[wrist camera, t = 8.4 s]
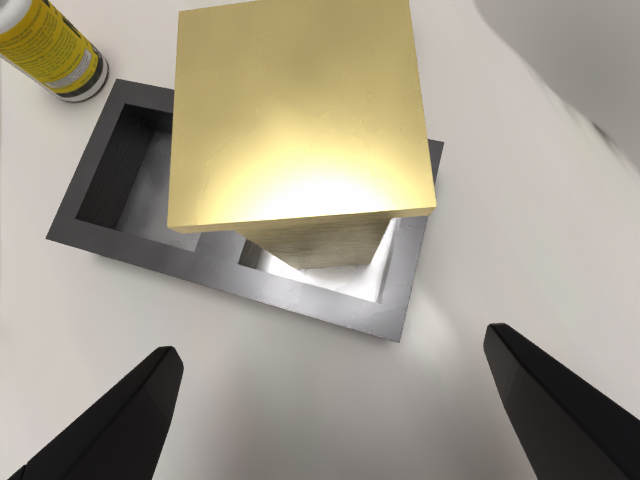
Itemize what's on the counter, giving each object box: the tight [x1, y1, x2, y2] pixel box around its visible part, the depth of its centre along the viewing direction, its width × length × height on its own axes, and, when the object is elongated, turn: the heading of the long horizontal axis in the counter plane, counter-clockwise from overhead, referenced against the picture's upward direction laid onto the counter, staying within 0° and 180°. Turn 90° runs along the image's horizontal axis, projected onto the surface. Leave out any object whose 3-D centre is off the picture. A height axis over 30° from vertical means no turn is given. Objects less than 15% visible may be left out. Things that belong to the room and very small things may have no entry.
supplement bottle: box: [0, 0, 107, 101], centre depth 20 cm, size 5×5×8 cm
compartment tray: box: [45, 79, 444, 343], centre depth 19 cm, size 10×20×4 cm, turn 74°
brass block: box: [167, 0, 437, 269], centre depth 13 cm, size 6×6×12 cm
